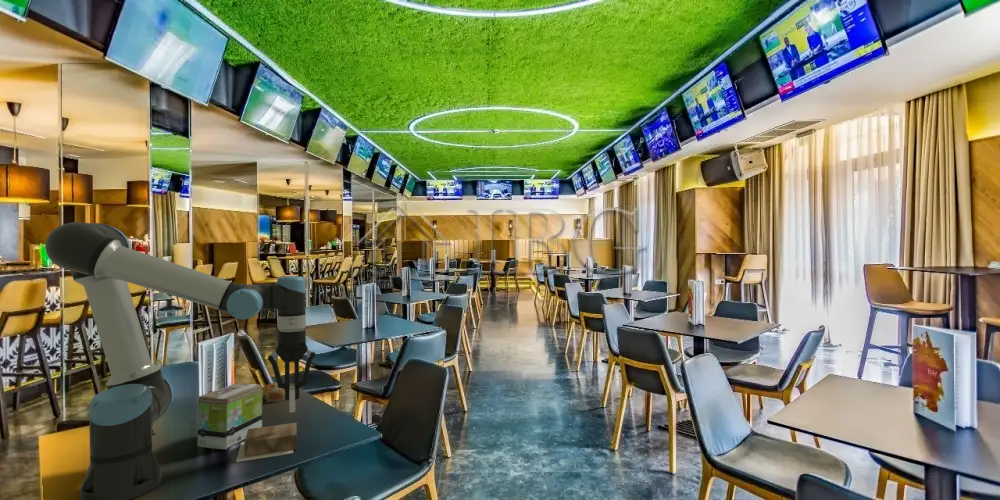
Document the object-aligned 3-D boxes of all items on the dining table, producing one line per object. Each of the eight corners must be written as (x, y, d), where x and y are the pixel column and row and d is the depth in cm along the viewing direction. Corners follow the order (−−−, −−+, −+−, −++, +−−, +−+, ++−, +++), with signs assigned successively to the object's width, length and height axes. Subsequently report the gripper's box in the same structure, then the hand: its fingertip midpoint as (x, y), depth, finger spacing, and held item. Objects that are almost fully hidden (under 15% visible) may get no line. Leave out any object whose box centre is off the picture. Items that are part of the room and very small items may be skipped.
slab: (296, 449, 135) (244, 457, 130) (296, 436, 144) (248, 443, 139) (296, 434, 135) (244, 442, 130) (296, 422, 144) (247, 429, 139)
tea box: (227, 450, 136) (226, 398, 135) (196, 447, 138) (196, 396, 137) (263, 430, 150) (263, 383, 150) (235, 428, 152) (235, 381, 152)
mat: (235, 462, 128) (235, 460, 128) (241, 443, 140) (241, 442, 140) (293, 453, 134) (293, 452, 134) (293, 436, 146) (293, 434, 146)
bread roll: (284, 411, 178) (294, 390, 180) (256, 403, 173) (266, 382, 175) (280, 403, 187) (289, 383, 188) (253, 396, 182) (263, 376, 183)
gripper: (265, 333, 133) (266, 418, 133) (316, 330, 138) (316, 411, 138) (267, 329, 140) (268, 409, 140) (315, 326, 145) (316, 403, 145)
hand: (292, 410), depth 139 cm, fingers closed
